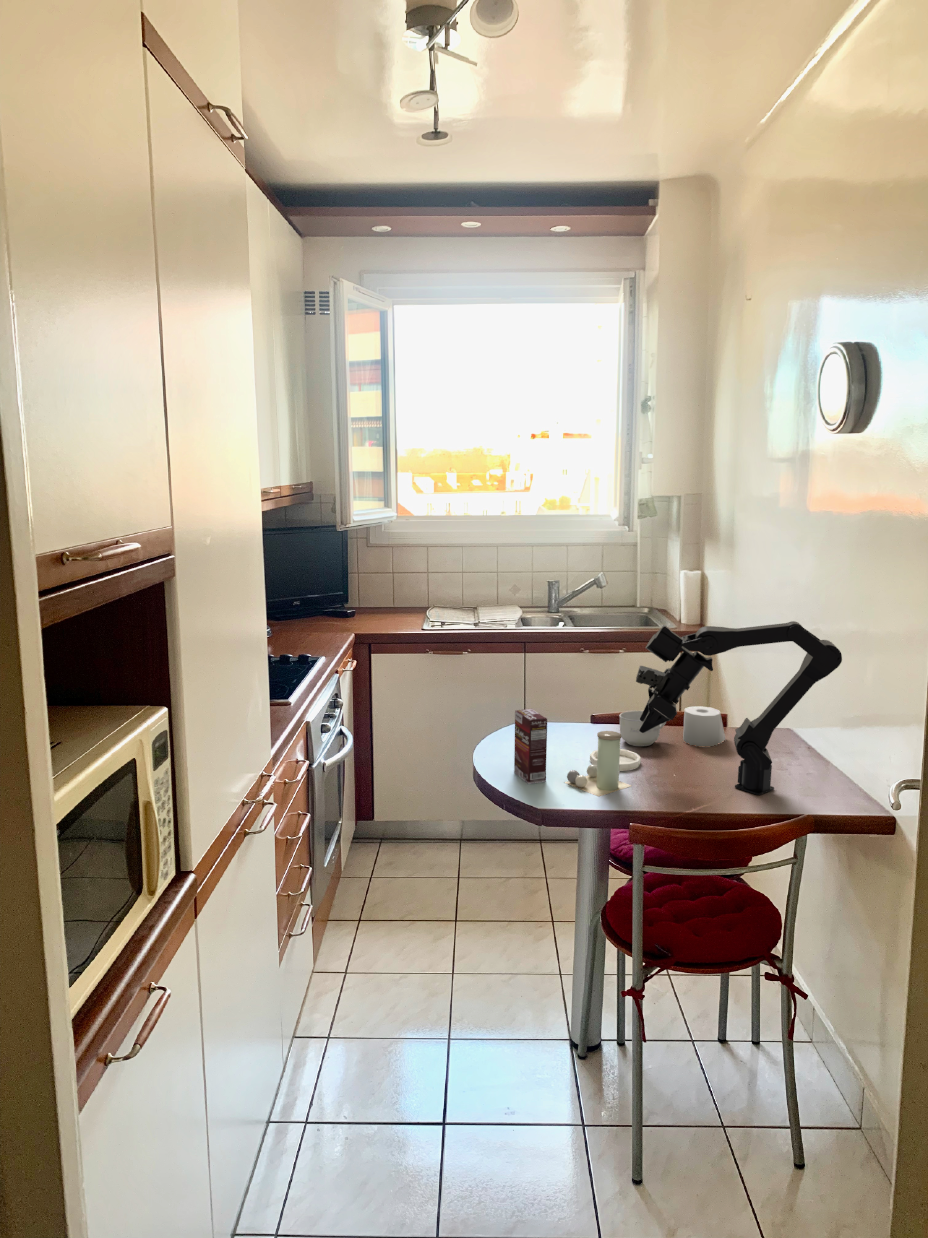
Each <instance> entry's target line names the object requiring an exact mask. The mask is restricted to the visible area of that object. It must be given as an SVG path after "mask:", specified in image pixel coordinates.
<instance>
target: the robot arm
mask: <svg viewBox="0 0 928 1238" xmlns="http://www.w3.org/2000/svg"><path fill="white" fill-rule="evenodd" d="M785 642H786V643H788V642H792V643H794V644H796V645H797V646H798V647H800V648H801V649H802V651H804V652H805V656H804V657H803V660H802V662H801V665H800V667H799V670H798V671H797V672H796V673H795V674H794V676H793V677H792V678H791V679H790V680H789V681H788V682H787V684H786V685H785V686H784V687H783V688H782V690H780V692H778V694H777V695H776V696H775V697H774V699H773V700H772V701H771V702H770V703H769V704H768V706H767V707H766V708H765V709H764V710H763V711H762V713H761V714H760V715H759V716H757V718H754V719H753V720H750V719H749V717H746V718H744V720H743V722H742V723H741V725H740V726H739V727H737V728H736V729H735V734H734V737H733V741H734V742H733V743H734V746H735V749H736V752H737V755H738V756H739V757H740V758H741V759H742V760H740V762H739V765H738V771H737V784H735V785H734V788H736V789H739V790H741V791H744V792H747V793H751V794H753V795H756V796H761V795H764V794H766V793H768V792H771V791H774V790H775V787H774V786H772V783H771V781H772V771H773V765H772V763H773V761H772V757H771V755H770V752H769V750H768V749H767V746H768V745H769V741H770V739H771V737H772V735H773V733H774V731H775V729H776V728H777V727H778V726H780V724H781V723H782V722H783V720H784V719H785V718H786V717H787V716H788V715H789V713H790V712H791V711H792V710H793V709H794V708H795V706H797V704H798V703H799V702H800V700H801V699H802V698H804V697H805V695H806V694H807V693H808V692H809V690H810V689H811V688H812V687H813V686H814V684H816V683H817V682H819V681H821V680H822V679H824V678H826V677H828V676H829V675H830V674H831V673H832V672H834V671H835V670H836V669H838V668H839V667H840V666H841V664H842V663H843V655H842V652H841V650H840V649H839V648H838V647H837V646H836V645H835V644H834V643H833V642H832V641H830V640H827V639H820V638H818V637H817V635H814V634H813V633H812V632H810V631H809V630H808V629H806V628H805V627H804V626H803V625H802V624H801V623H799V622H797V621H795V620H793V621H792V620H791V621H789V622H785V623H774V624H767V625H765V624H764V625H758V626H757V625H755V626H748V627H740V628H737V627H736V628H735V627H724V626H714V625H713V626H711V625H705V626H701V627H700V628H698V630H697V631H696V632H695V633H691V634H687V635H683V636H679V635H678V634H677V633H676V632H673V630H671V629H670V627H669V626H667V625H665V624H664V625H663V626H661V628H659V630H658V631H656V633H654V634H653V635H652V637H651V638H650V639H649V641H648V643H647V644H646V646H645V649H646V650H647V651H649V652H650V653H652V654H653V655H654V656H656V657H657V658H659V659H660V660H661V661H663V662H664V663H667V662H674V661H675V662H674V663H673V664H672V665H671V667H670V668H669V667H667V668H665V670H664V671H660V670H658V669H655V668H652V667H648V666H644V665H639V667H638V670H637V674H636V677H635V682H636V683H638V684H640V685H641V684H644V685H646V686H647V685H648V688H647V692H648V693H647V694H648V700H647V702H646V705H645V707H644V709H643V710H642V711H643V713H642V715H641V717H640V720H641V721H642V722H643V723H642V725H641V727H640V729H639V731H640V732H642V733H644V732H646V731H648V730H650V729H652V728H654V727H656V726H658V725H660V724H662V723H664V722H666V723H667V722H670V721H673V720H674V719H675V717H676V716H677V715H678V709H677V705H678V703H679V702H680V698H681V696H682V695H684V692H686V691H689V689H690V688H691V686H690V685H691V684H692V683H693V682H694V680H695V679H697V678H696V677H697V676H698V675H699V674H700V672H701V671H702V670H703V669H704V668H706V669H707V670H709V671H710V672H713V671H714V666H713V657H711V656H715V655H717V654H718V655H719V654H722V653H725V652H728V651H731V650H733V649H737V648H740V647H748V646H757V645H766V644H767V645H768V644H770V645H771V644H776V643H778V644H779V643H785ZM680 653H681V654H680ZM706 656H708V657H706ZM677 657H678V658H677ZM676 658H677V659H676Z"/></svg>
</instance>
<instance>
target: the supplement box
mask: <svg viewBox="0 0 928 1238" xmlns="http://www.w3.org/2000/svg"><path fill="white" fill-rule="evenodd" d="M547 741H548V718H547V717H545V716H544V715H542V714H540V712H539V713H538V712H537V711H536V710H534V709H533V708H524V709H518V710H517V709H516V710H515V711H514V757H513V758H514V761H513V762H514V766H513V769H514V770H513V773H514V774H516V776H518V777H519V778H520V779H522V780H523V781H524V782H525V783H526V784H528V785H530V784H531V785H532V784H538V783H546V782H547V748H548V745H547V743H548V742H547Z"/></svg>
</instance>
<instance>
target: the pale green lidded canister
mask: <svg viewBox="0 0 928 1238" xmlns="http://www.w3.org/2000/svg"><path fill="white" fill-rule="evenodd" d="M596 737H597V750H598V756H597V784H596V787H597V788H598V789H601V790H605V791H613V790H617V789H618V786H619V781H620V771H619V762H620V749H621V739H622V737H621V734H620V732H618V731H613V730H601V731H598V732H597V736H596Z"/></svg>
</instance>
